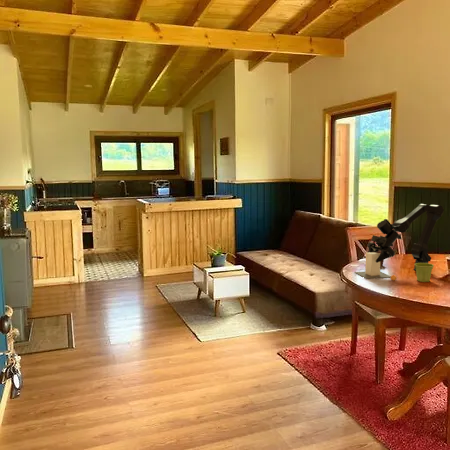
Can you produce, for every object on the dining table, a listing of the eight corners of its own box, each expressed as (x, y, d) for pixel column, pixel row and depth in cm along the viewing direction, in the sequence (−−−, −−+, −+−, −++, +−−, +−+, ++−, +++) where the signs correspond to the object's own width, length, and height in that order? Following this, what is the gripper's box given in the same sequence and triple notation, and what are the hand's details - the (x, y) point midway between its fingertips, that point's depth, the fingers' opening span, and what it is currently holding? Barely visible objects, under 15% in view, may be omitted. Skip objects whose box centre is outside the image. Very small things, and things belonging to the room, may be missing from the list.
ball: (394, 279, 239) (395, 274, 239) (397, 281, 236) (397, 275, 236) (389, 280, 239) (389, 274, 238) (392, 281, 236) (392, 275, 235)
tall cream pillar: (373, 272, 254) (374, 252, 253) (379, 275, 249) (380, 253, 247) (365, 273, 252) (365, 252, 251) (371, 275, 247) (371, 254, 246)
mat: (379, 271, 259) (379, 270, 259) (392, 277, 244) (392, 276, 244) (354, 272, 257) (354, 271, 257) (365, 278, 242) (365, 278, 242)
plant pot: (431, 283, 230) (432, 267, 229) (412, 281, 235) (412, 265, 234) (434, 279, 238) (435, 263, 237) (415, 277, 243) (415, 262, 242)
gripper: (370, 228, 258) (353, 248, 256) (390, 232, 240) (372, 254, 238) (381, 241, 261) (364, 260, 259) (403, 246, 243) (384, 267, 241)
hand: (371, 260), depth 249 cm, fingers open, 9 cm apart
